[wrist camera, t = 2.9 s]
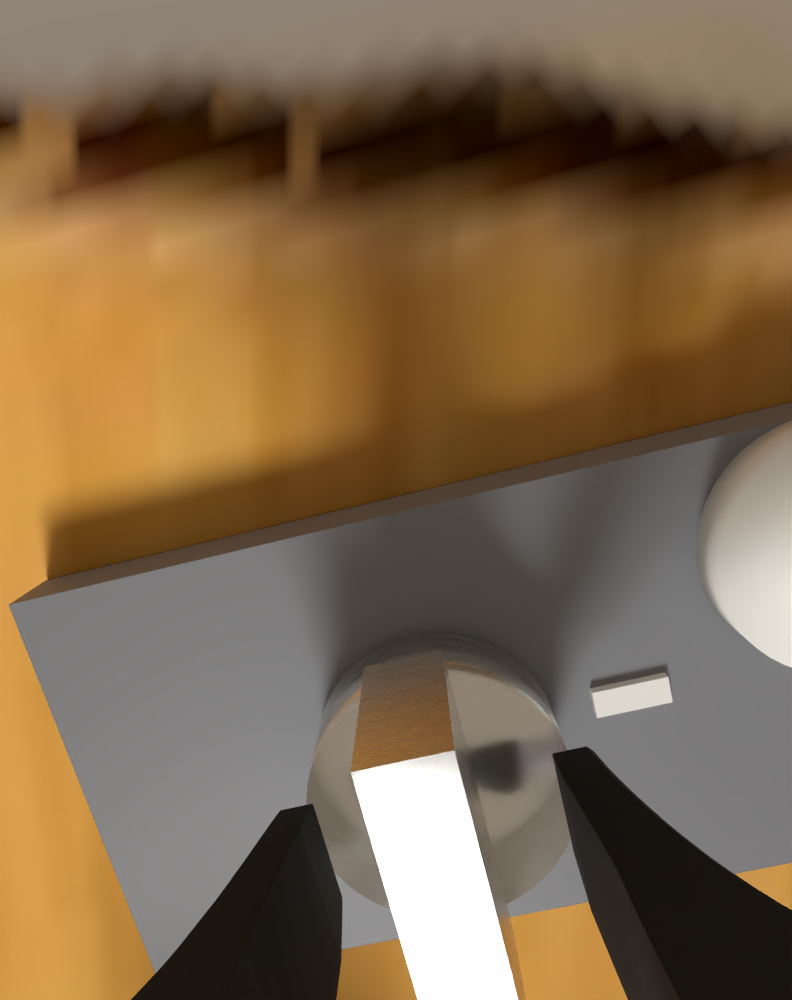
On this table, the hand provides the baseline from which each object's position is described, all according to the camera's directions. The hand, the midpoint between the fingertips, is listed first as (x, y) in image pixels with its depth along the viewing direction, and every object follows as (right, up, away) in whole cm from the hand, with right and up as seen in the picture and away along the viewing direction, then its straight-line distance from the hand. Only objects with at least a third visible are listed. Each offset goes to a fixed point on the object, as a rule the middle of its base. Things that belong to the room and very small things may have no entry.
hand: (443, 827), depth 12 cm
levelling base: (+2, +1, +4) cm, 5 cm away
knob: (0, +1, +3) cm, 3 cm away
